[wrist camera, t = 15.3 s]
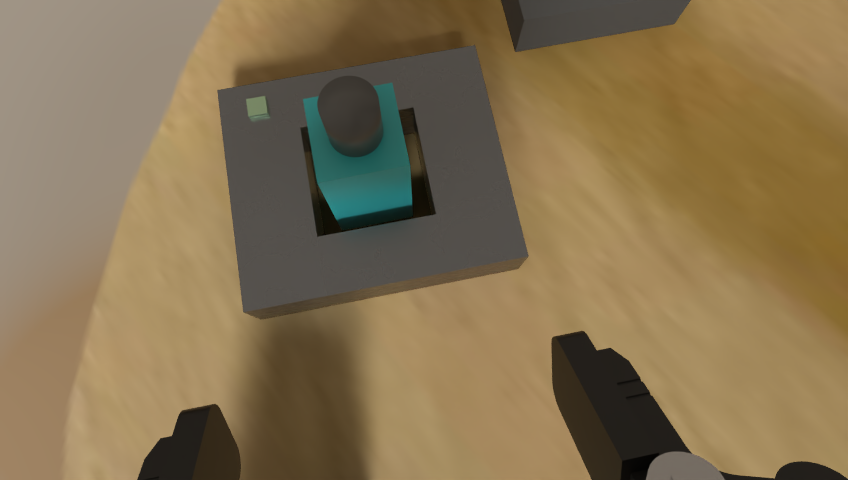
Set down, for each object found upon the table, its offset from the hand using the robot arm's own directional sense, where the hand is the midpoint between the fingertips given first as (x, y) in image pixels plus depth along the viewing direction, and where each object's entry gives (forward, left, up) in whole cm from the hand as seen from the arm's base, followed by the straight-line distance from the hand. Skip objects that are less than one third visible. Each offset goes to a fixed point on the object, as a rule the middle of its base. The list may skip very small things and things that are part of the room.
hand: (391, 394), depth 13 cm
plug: (0, -11, -16) cm, 19 cm away
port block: (0, -11, -16) cm, 19 cm away
